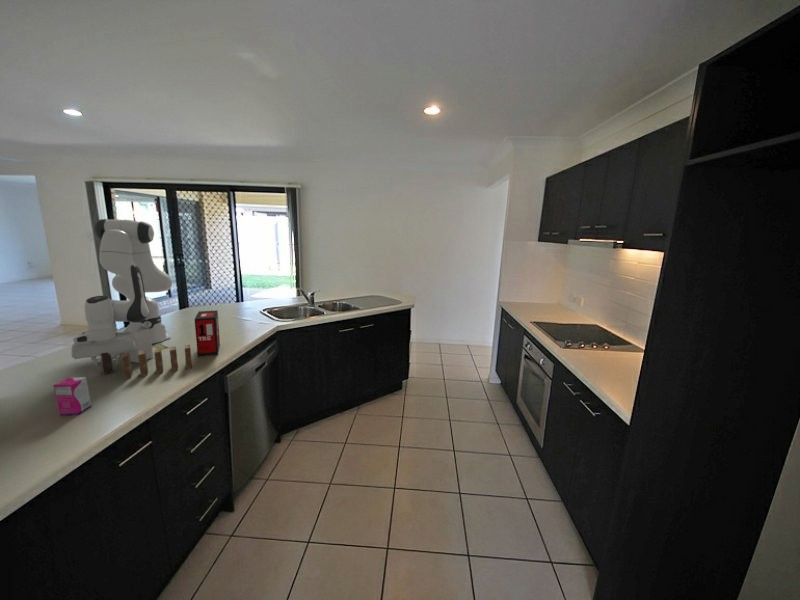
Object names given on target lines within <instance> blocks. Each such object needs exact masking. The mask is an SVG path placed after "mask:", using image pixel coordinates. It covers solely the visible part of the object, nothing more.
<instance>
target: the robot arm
mask: <svg viewBox="0 0 800 600" xmlns="http://www.w3.org/2000/svg"><path fill="white" fill-rule="evenodd" d="M93 230H94V234H95V236H96V237H97V238H98V239H99V240H100V245H99V256H98V257H99V258H98V259H99V263H100V265H101V267H102V268H103V269H104V270H106V271H107V272H109V273H111V274H114V275H115V276H114V277H113V278H112V280H111V285H112V287H113V289H114V290H115V291H116V292H118V293H119V294H121V295H123V296H124V297H125V298H127V299H128V300H119V299H117V300H116V299H111V298H110V297H109V296H107V295H96V296H91V297H88V298H87V299H86V300H85V303H84V317H85V321H86V323H87V328H86V330H87V331H84V332H80V333H78V334H76V335H75V336H74V337H73V339H72V341H73V342H74V343H73V344H72V345H71V352H70V353H71V358H72V359H74V360H79V359H85V358H86V359H87V358H90V359H91V361H92V362H94V363H95V367H99V366H102V360H98V359H97V358H98V357H101V353H108V355H111V356H112V355H114V356H115V358H113V359H112V365H113V364H118V363H119V358H120V356H121V354H123V353H126V352H133V351H134V350H135V349H136V346H135V342H134V339H135V334H134V333H132V332H129V331H128V332H123V331H120V332H119V331H117V326H116V323H117V322H121V323H123V322H127V323H128V322H129V323H130V322H139V323H142V324H143V325H144V326H145V327H147V328H149V329H150V335H151V343H152V345H154V344H157V343H161V342H164V341H166V340H170V339H171V335H170V334H168V332H167V330H166V325H165V324H164V323H163V322H162V317H161V315H160V308H159V307H160V306H159V305H160V304H159V302H158V301H157V300H155V299H153V298H151V297H147V296H146V293H162V292H166V291H169V290H171V288H172V286H173V279H172V278H171V276H170V275H169V274H168V273H166V272H164V271H162V270H161V269H159V268H158V266H157V265H156V264H155V263H154V260H153V256H152V252H151V247H150V243H151V242H152V241H153V240H154V237H155V232H154V228H153V226H152V225H151V224H150V223H149V222H145V221H142V220H141V221H136V220H132V219H130V220H129V219H108V218H104V219H99V220H97V221H96V222H95V223H94V228H93ZM115 322H116V323H115ZM130 333H131V334H130Z"/></svg>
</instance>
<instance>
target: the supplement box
mask: <svg viewBox="0 0 800 600" xmlns="http://www.w3.org/2000/svg"><path fill="white" fill-rule="evenodd" d="M52 386H53V390H54V394H55V398H56V403H57V408H58V412H59V415H60V416H79V415H80V414H81V413H84V411H86V410H88V409H90V408H92V407H93V406H92V401H91V397H90V391H89V385H88V381H87V377H86V376H81V377H80V376H79V377H73V376H71V377H67V378H65V379H63V380H61V381H59V382H57V383H55V384H53V385H52Z"/></svg>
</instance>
